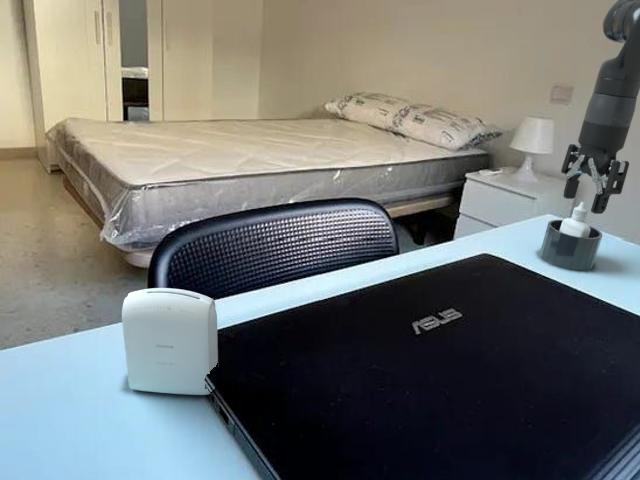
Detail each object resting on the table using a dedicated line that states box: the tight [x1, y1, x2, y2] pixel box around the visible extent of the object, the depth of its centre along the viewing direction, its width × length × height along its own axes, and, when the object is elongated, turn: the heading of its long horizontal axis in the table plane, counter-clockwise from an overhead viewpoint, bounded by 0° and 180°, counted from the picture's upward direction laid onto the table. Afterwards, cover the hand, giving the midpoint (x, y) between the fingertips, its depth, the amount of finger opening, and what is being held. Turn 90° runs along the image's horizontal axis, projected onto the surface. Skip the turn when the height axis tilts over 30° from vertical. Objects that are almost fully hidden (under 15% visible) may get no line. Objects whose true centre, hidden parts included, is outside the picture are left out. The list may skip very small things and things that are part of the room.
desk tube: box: [539, 219, 603, 272], centre depth 99 cm, size 10×10×7 cm
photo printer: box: [121, 287, 219, 396], centre depth 56 cm, size 10×4×12 cm, turn 88°
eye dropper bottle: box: [559, 201, 590, 238], centre depth 98 cm, size 4×6×12 cm
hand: (582, 205), depth 96 cm, fingers open, 8 cm apart
